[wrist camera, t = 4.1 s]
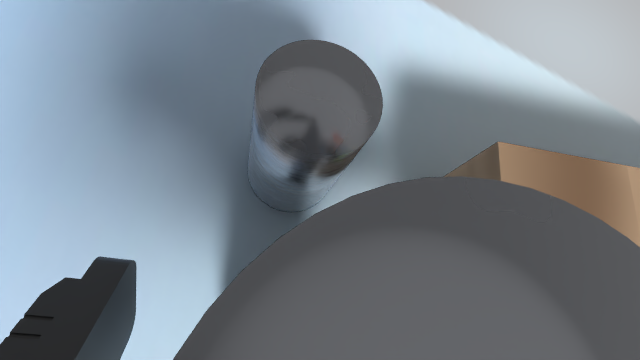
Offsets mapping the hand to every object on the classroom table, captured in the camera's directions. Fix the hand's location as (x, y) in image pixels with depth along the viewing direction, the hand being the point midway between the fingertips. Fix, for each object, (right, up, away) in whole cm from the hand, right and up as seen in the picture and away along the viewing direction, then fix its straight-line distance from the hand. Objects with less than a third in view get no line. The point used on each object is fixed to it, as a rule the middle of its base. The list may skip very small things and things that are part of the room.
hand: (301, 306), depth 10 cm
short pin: (-1, +4, +9) cm, 10 cm away
